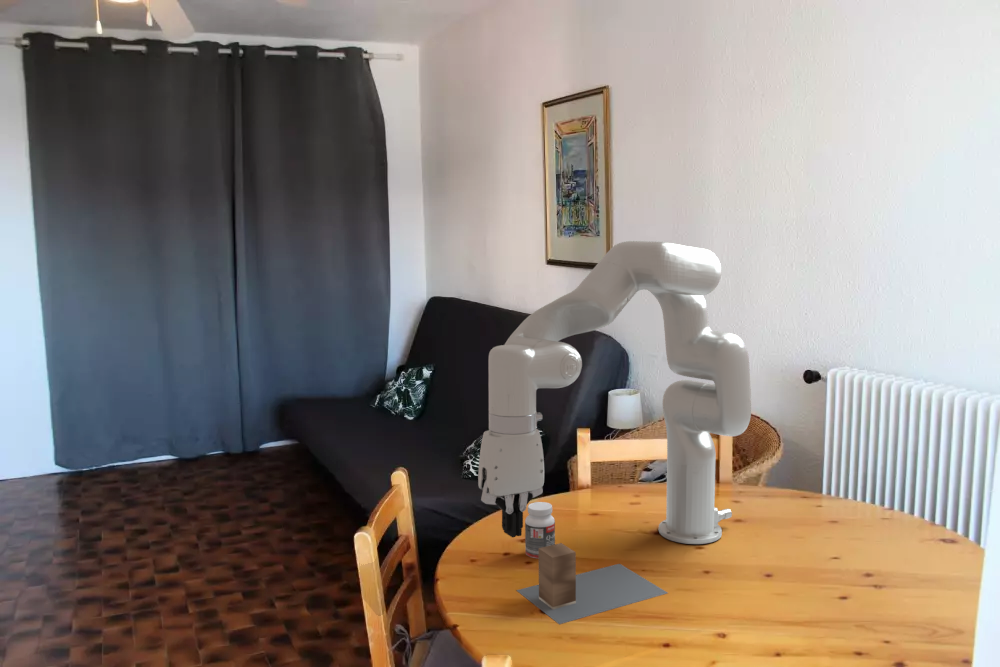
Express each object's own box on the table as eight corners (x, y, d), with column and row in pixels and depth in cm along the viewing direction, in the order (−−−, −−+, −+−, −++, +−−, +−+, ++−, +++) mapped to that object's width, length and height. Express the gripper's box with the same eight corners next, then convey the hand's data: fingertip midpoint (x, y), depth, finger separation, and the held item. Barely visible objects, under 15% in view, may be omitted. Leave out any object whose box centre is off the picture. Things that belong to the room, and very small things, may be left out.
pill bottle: (552, 562, 159) (552, 512, 158) (523, 560, 160) (522, 510, 159) (556, 550, 165) (556, 501, 163) (528, 548, 166) (527, 500, 164)
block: (561, 592, 145) (561, 542, 144) (575, 603, 141) (575, 552, 140) (539, 598, 143) (538, 548, 142) (552, 609, 139) (552, 557, 138)
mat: (619, 566, 157) (619, 563, 156) (668, 596, 144) (668, 592, 144) (516, 593, 146) (516, 590, 146) (559, 627, 134) (559, 624, 134)
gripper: (540, 413, 140) (540, 519, 143) (459, 423, 133) (460, 534, 136) (564, 422, 134) (564, 533, 136) (481, 433, 127) (481, 550, 129)
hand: (512, 533), depth 136 cm, fingers closed
